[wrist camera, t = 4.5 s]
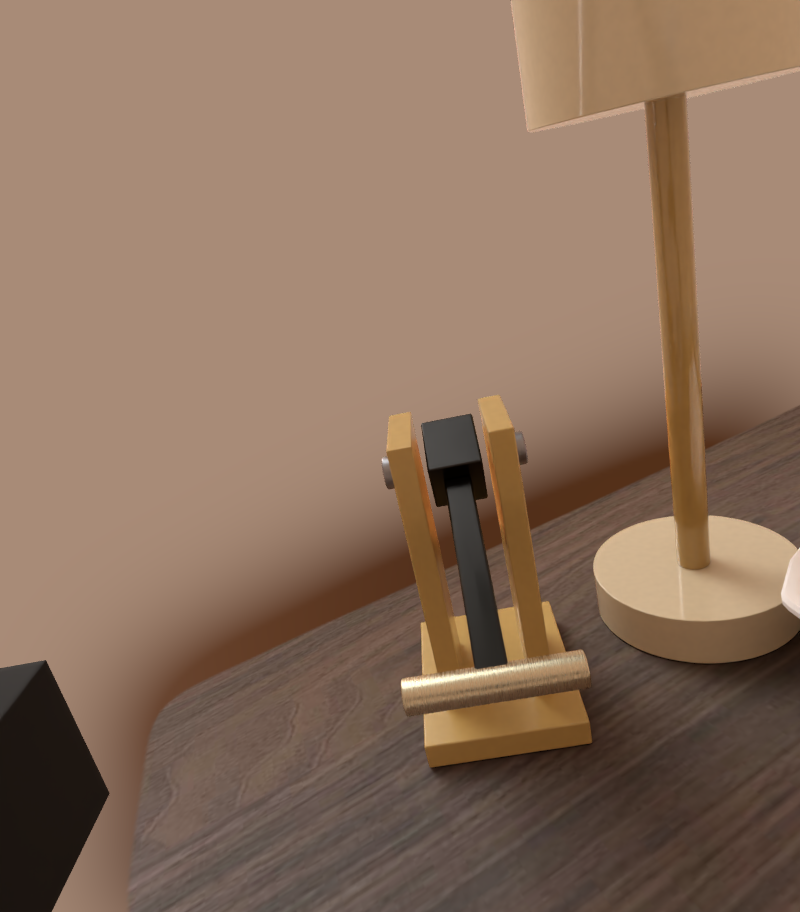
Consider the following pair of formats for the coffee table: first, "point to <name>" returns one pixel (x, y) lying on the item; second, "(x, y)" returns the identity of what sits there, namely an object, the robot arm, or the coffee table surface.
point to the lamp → (670, 299)
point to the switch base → (522, 625)
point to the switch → (478, 594)
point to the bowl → (792, 586)
